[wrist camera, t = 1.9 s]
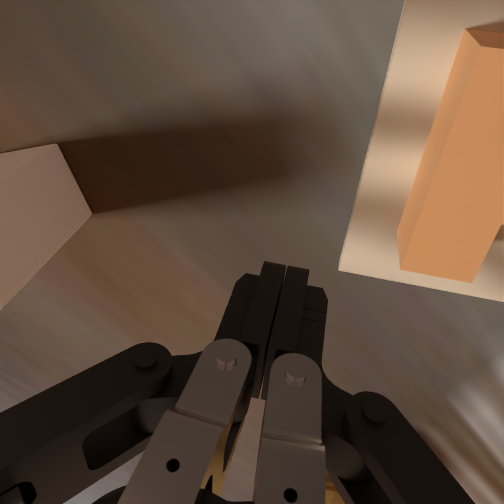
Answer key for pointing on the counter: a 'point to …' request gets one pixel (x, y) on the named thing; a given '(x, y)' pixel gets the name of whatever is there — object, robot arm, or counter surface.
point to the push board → (415, 143)
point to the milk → (35, 213)
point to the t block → (460, 168)
